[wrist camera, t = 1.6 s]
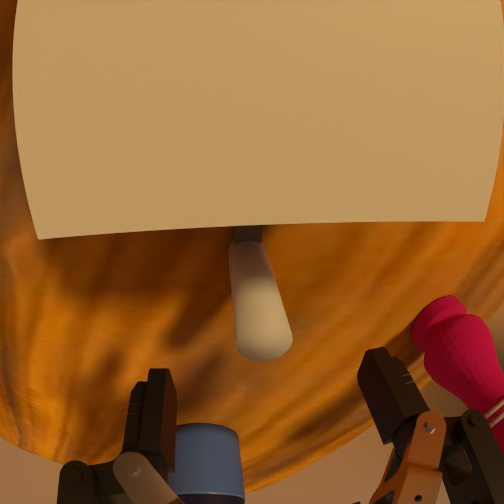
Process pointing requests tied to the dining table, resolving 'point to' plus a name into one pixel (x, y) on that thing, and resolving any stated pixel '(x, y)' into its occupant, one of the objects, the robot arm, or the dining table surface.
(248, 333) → the grey block with handle
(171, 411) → the robot arm
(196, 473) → the water bottle
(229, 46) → the shelf
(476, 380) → the pepper mill
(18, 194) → the dining table surface
